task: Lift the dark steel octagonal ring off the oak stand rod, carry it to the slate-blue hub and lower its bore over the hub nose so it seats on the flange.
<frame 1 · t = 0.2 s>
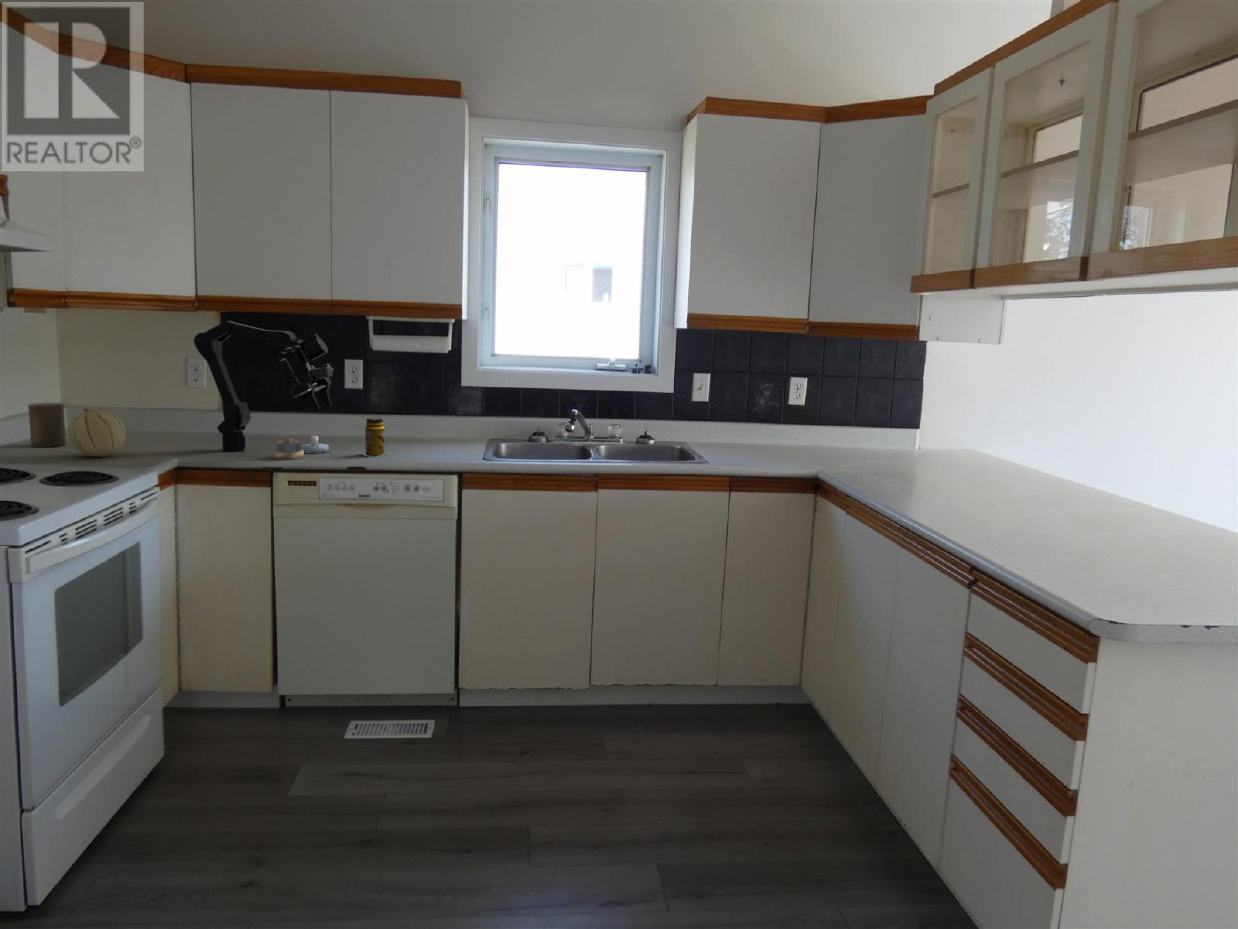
hand: (324, 409, 287), 15 cm above the worktop, tool tilted 30°, fingers open, 9 cm apart
condiment: (372, 455, 291), on the worktop
pillar candle: (48, 446, 287), on the worktop
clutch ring: (288, 451, 280), point 2 cm above the worktop, touching stand
cantaloupe: (99, 457, 270), on the worktop
hub: (314, 451, 293), on the worktop
stand: (288, 457, 280), on the worktop
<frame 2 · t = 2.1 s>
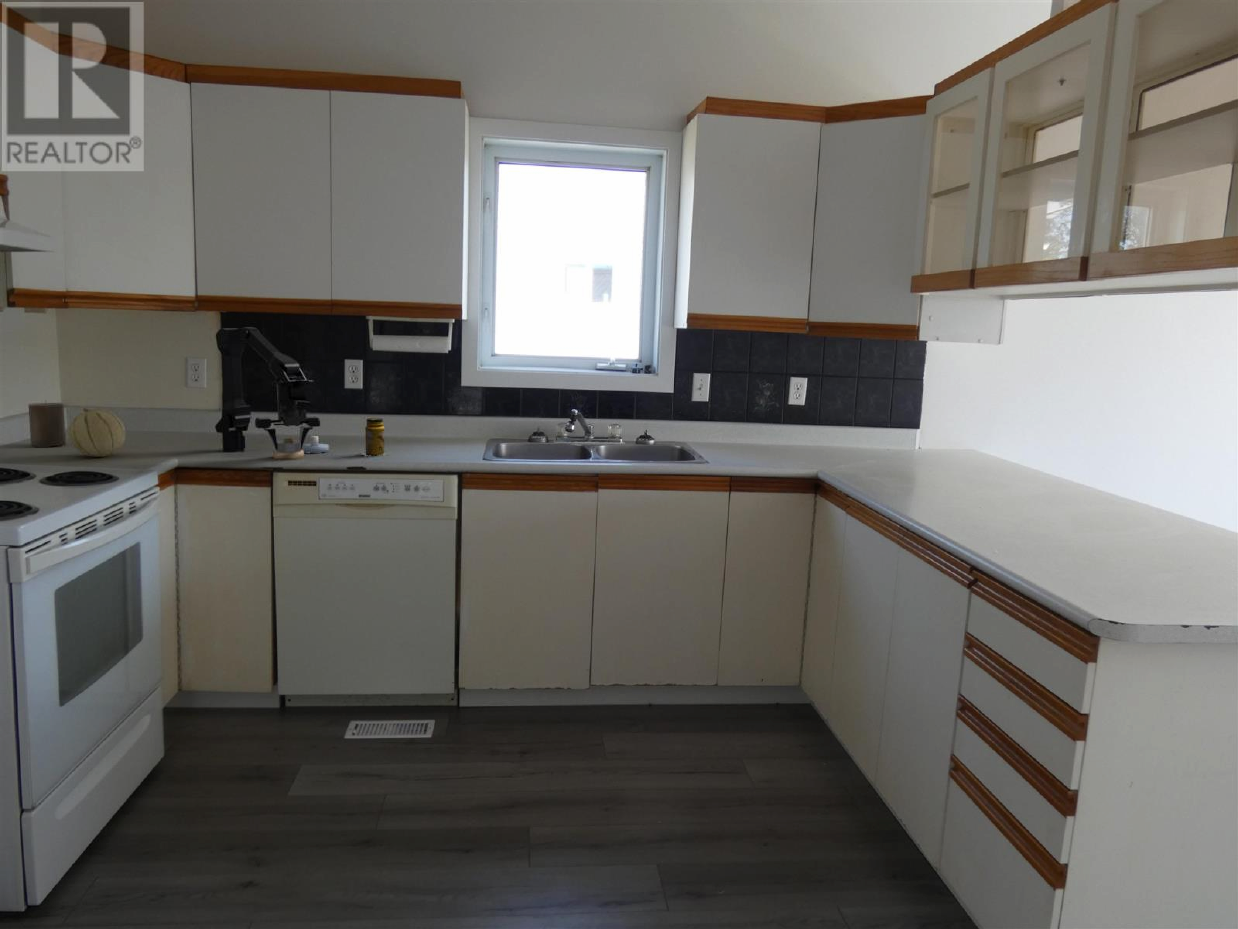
hand: (288, 449, 280), 3 cm above the worktop, tool pointing down, fingers closed on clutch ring, 7 cm apart
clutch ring: (288, 451, 280), point 2 cm above the worktop, touching gripper, stand
everything else where it was.
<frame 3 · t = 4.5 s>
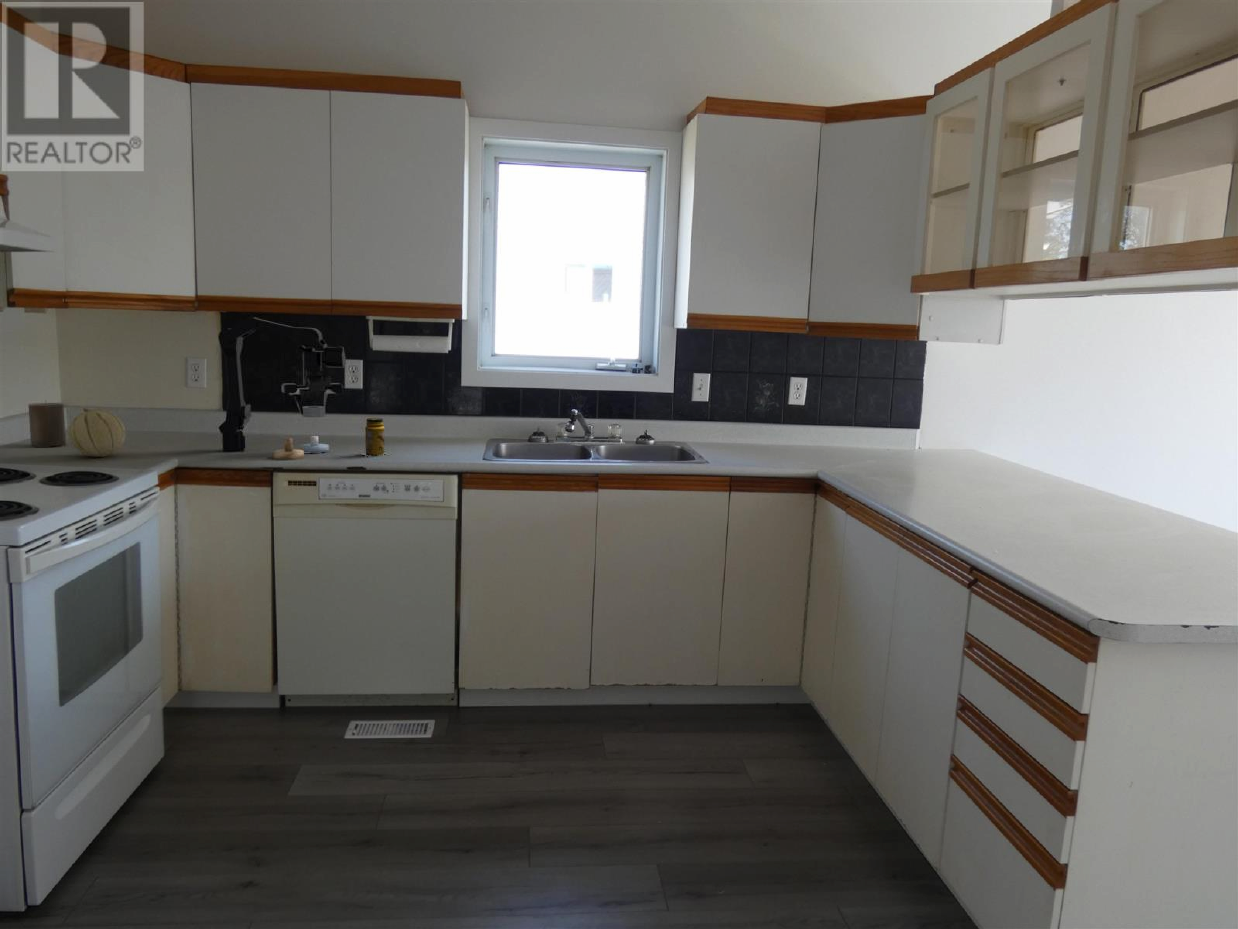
hand: (313, 414, 291), 13 cm above the worktop, tool pointing down, fingers closed on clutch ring, 7 cm apart
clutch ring: (313, 416, 291), point 12 cm above the worktop, touching gripper
everything else where it was.
when the fingers open (3 cm above the worktop, at t = 7.2 s): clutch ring stays where it is, resting on hub.
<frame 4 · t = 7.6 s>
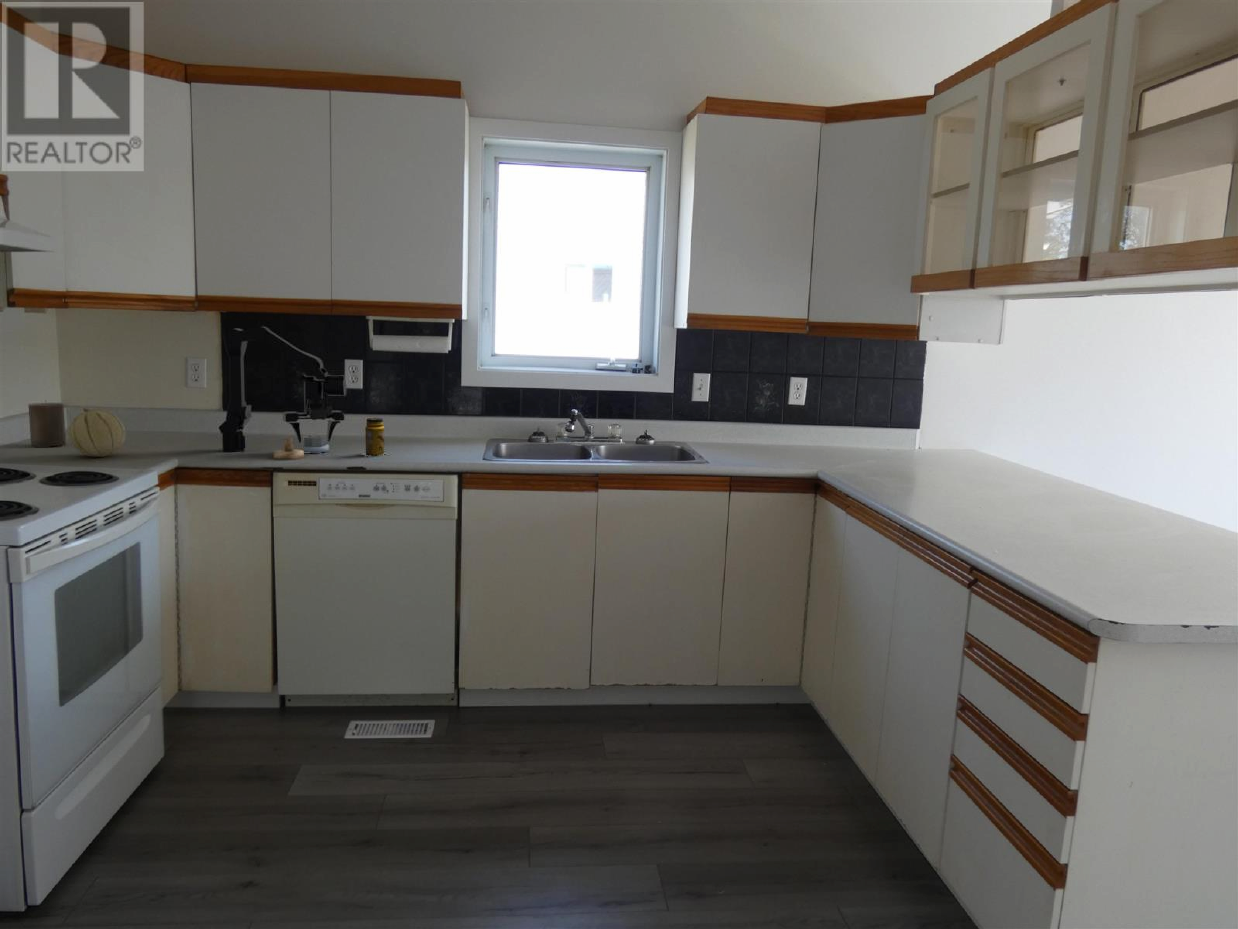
hand: (314, 442, 293), 3 cm above the worktop, tool pointing down, fingers open, 9 cm apart
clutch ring: (314, 445, 293), point 2 cm above the worktop, touching hub
everything else where it was.
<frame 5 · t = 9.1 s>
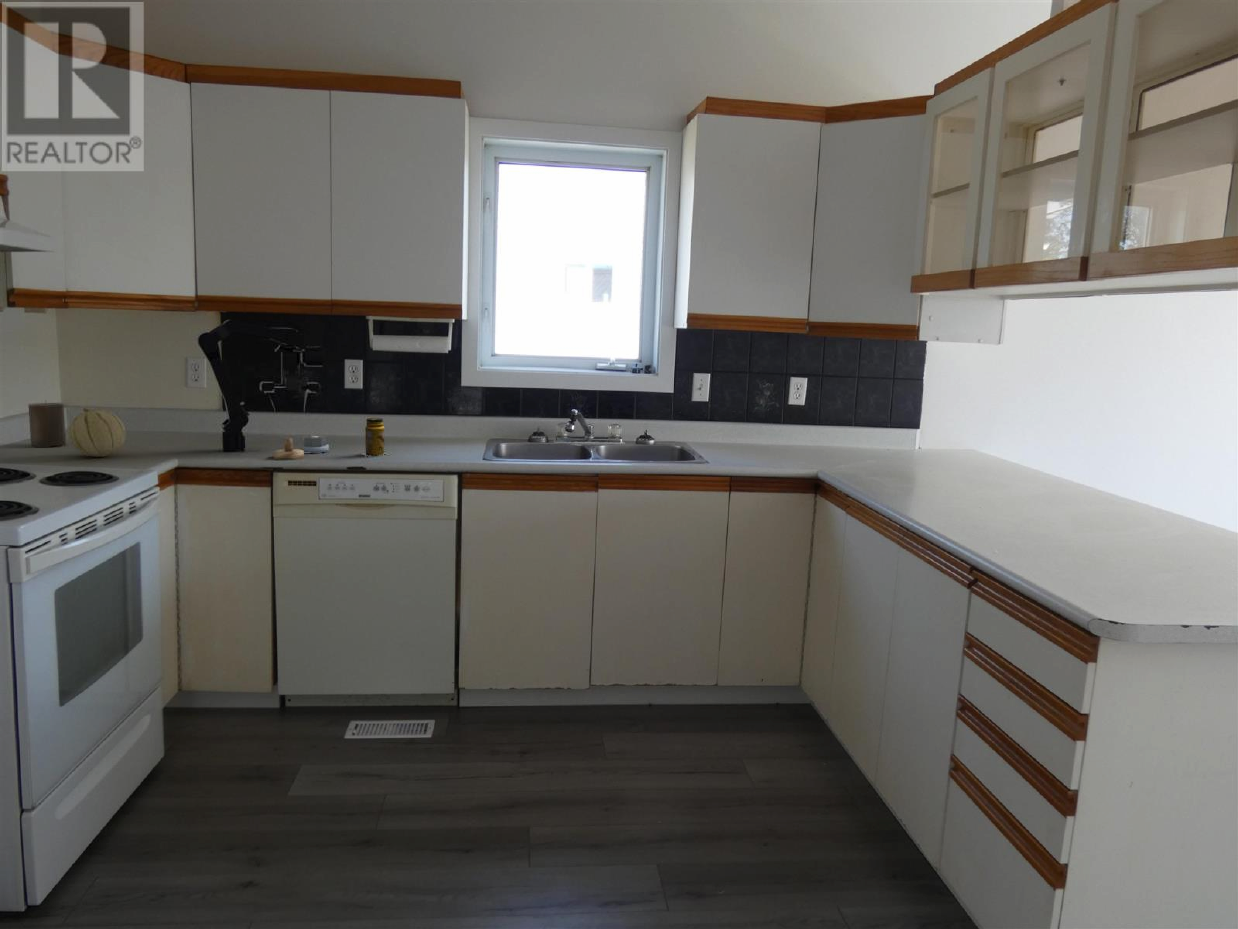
hand: (290, 412, 297), 12 cm above the worktop, tool pointing down, fingers open, 9 cm apart
nothing on the worktop moved.
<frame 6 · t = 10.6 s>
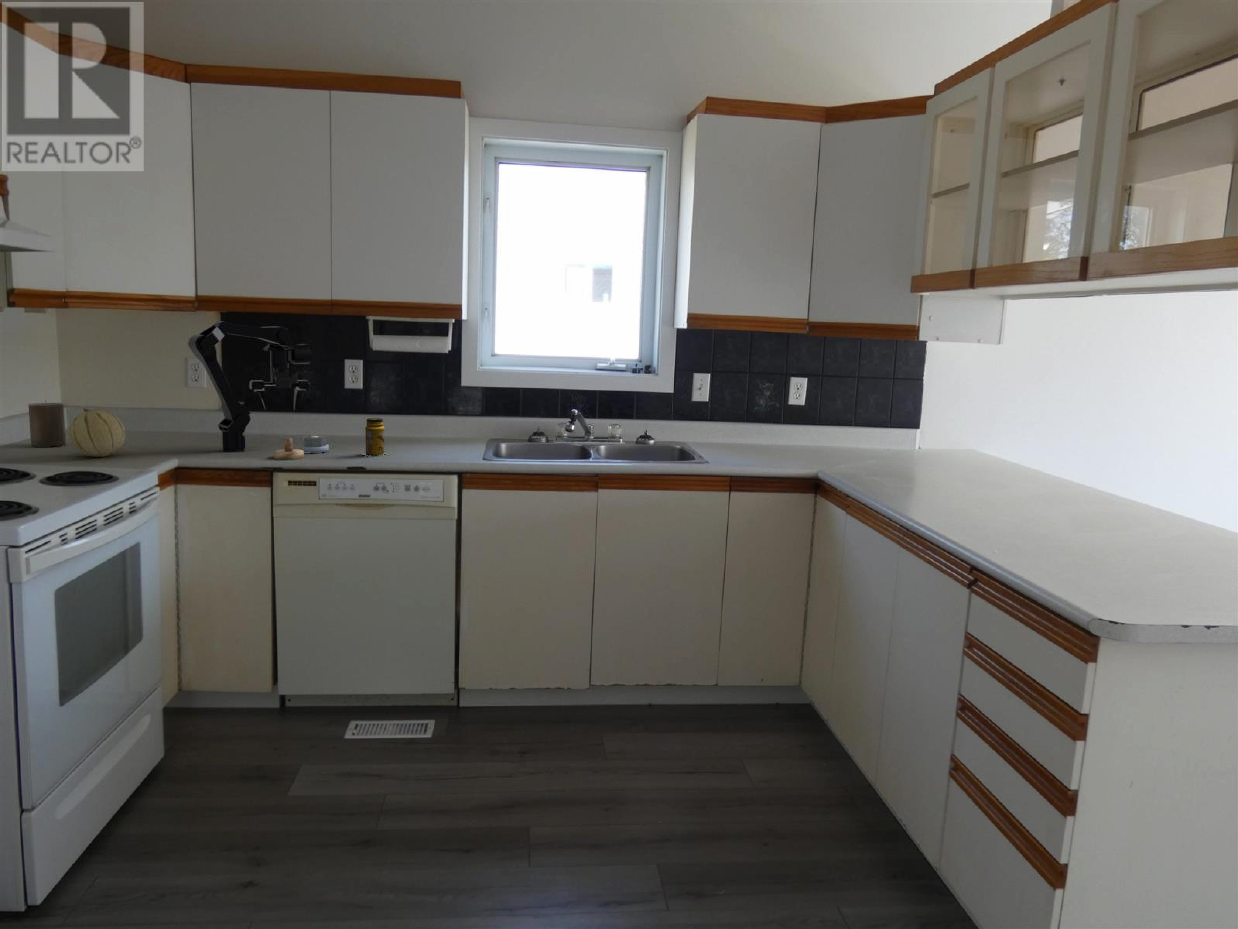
hand: (280, 410, 299), 13 cm above the worktop, tool pointing down, fingers open, 9 cm apart
nothing on the worktop moved.
at the end: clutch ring 0.1 cm off-centre on the hub, point 2.0 cm above the hub's base; the gripper is holding nothing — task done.
